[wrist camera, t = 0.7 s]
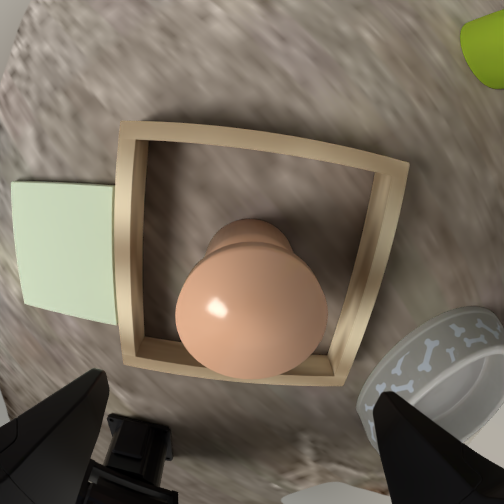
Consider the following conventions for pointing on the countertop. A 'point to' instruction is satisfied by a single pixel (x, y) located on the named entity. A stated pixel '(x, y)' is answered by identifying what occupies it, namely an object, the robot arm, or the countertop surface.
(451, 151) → the countertop surface
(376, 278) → the wooden square frame
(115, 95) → the countertop surface
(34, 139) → the countertop surface
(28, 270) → the potting mat
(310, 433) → the countertop surface
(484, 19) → the soap dispenser
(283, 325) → the peach rimmed cylinder
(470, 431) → the dog bowl
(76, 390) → the robot arm
